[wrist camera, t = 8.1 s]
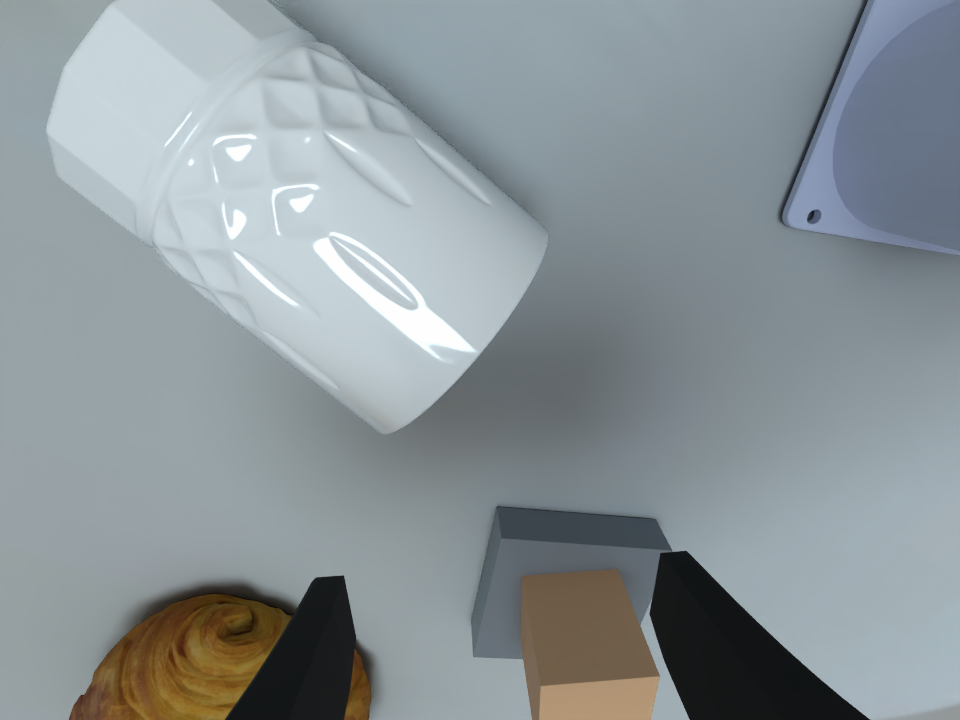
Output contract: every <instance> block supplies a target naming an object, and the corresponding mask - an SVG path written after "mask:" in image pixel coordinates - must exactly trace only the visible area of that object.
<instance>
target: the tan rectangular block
mask: <svg viewBox="0 0 960 720" xmlns="http://www.w3.org/2000/svg"><path fill="white" fill-rule="evenodd" d="M520 641H521V648H522V654H523V661H524V668H525V674H526V681H527V688H528V694H529V701H530V708H531V715H532V720H651V716H652V711H653V707H654V702H655V697H656V692H657V687H658V683H659V678H660V675H659V673H658V670H657V668H656V665H655V663H654V660H653V657H652V655H651V652H650V650H649V647H648V645H647V642H646V640H645V637H644V634H643V632H642V629H641V627H640V624H639V622H638V619H637V616H636V614H635V611H634V609H633V606H632V604H631V601H630V598H629V596H628V593H627V591H626V588H625V586H624V583H623V581H622V578H621V575H620V573H619V570H618V569H610V570H596V571H582V572H568V573H555V574H541V575H527V576H522V582H521V638H520Z"/></svg>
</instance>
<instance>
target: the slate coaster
mask: <svg viewBox="0 0 960 720" xmlns="http://www.w3.org/2000/svg"><path fill="white" fill-rule="evenodd" d="M665 552H672V549H671V547H670V545H669V543H668V542H667V540H666V538H665V536H664V534H663V532H662V530H661V528H660V527H659V525H658V523H657V521H656V519H644V518H632V517H619V516H607V515H594V514H581V513H569V512H556V511H544V510H531V509H519V508H506V507H497V509H496V513H495V518H494V522H493V526H492V531H491V535H490V540H489V544H488V549H487V553H486V558H485V562H484V567H483V571H482V576H481V580H480V584H479V589H478V593H477V598H476V602H475V607H474V611H473V616H472V620H471V626H472V644H473V657H484V658H508V659H523V654H522V648H521V641H520V638H521V582H522V576H527V575H541V574H555V573H568V572H582V571H596V570H610V569H618V570H619V573H620V575H621V578H622V581H623V583H624V586H625V588H626V591H627V593H628V596H629V598H630V601H631V604H632V606H633V609H634V611H635V614H636V616H637V619H638V622H639V624H641V622H642V620H643V617H644V615H645V613H646V610H647V608H648V606H649V604H650V601H651V599H652V597H653V592H654V586H655V581H656V575H657V569H658V564H659V558H660V553H665Z"/></svg>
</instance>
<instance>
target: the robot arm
mask: <svg viewBox="0 0 960 720" xmlns="http://www.w3.org/2000/svg"><path fill="white" fill-rule="evenodd" d="M813 210H814V216H813V218H812V219H811V220H810V221H807V216H808V214H809V213H810V212H811V211H813ZM782 219H783V222H784V223H785V225H787V226H789V227H792V228H795V229H801V230H807V231H813V232H819V233H826V234H832V235H838V236H844V237H850V238H856V239H862V240H868V241H874V242H880V243H886V244H892V245H898V246H904V247H910V248H916V249H923V250H929V251H935V252H941V253H947V254H953V255H959V256H960V0H868V2H867V4H866V7H865V9H864V12H863V14H862V17H861V19H860V22H859V24H858V27H857V29H856V32H855V34H854V37H853V39H852V42H851V44H850V47H849V49H848V52H847V54H846V57H845V59H844V62H843V64H842V67H841V69H840V72H839V74H838V76H837V79H836V81H835V84H834V86H833V89H832V91H831V94H830V96H829V99H828V101H827V104H826V106H825V109H824V111H823V114H822V116H821V119H820V121H819V124H818V126H817V129H816V131H815V134H814V136H813V139H812V141H811V144H810V146H809V148H808V151H807V153H806V156H805V158H804V161H803V163H802V166H801V168H800V171H799V173H798V176H797V178H796V181H795V183H794V186H793V188H792V191H791V193H790V196H789V198H788V201H787V203H786V206H785V208H784V211H783V215H782ZM650 617H651V620H652V623H653V627H654V630H655V633H656V637H657V640H658V643H659V646H660V649H661V652H662V655H663V658H664V661H665V664H666V666H667V668H668V671H669V673H670V675H671V678H672V680H673V682H674V685H675V687H676V689H677V692H678V694H679V696H680V699H681V701H682V703H683V705H684V708H685V710H686V712H687V714H688V717H689V719H690V720H870V719H868V718H867V717H866V716H865V715H863V714H862V713H861V712H860V711H858V710H857V709H856V708H854V707H853V706H852V705H851V704H849V703H848V702H847V701H846V700H844V699H843V698H842V697H841V696H839V695H838V694H837V693H836V692H835V691H833V690H832V689H831V688H830V687H829V686H828V685H826V684H825V683H824V682H823V681H822V680H820V679H819V678H818V677H817V676H816V675H815V674H814V673H812V672H811V671H810V670H809V669H808V668H807V667H806V666H805V665H803V664H802V663H801V662H800V661H799V660H798V659H797V658H795V657H794V656H793V655H792V654H791V653H790V652H789V651H788V650H787V649H786V648H784V647H783V646H782V645H781V644H780V643H779V642H778V641H777V640H776V639H775V638H774V637H773V636H772V635H771V634H770V633H768V632H767V631H766V630H765V629H764V628H763V627H762V626H761V625H760V624H759V623H758V622H757V621H756V620H755V619H754V618H753V617H752V616H751V615H750V614H749V613H748V612H747V611H746V610H745V609H744V608H742V607H741V606H740V605H739V604H738V603H737V602H736V601H735V600H734V599H733V598H732V597H731V596H730V595H729V594H728V593H727V592H726V591H725V589H724V588H723V587H722V586H721V585H720V584H719V583H718V582H717V581H716V580H715V579H714V578H713V577H712V576H711V575H710V574H709V573H708V572H707V571H706V570H705V569H704V568H703V567H702V566H701V565H700V564H699V563H698V562H697V561H696V560H695V559H694V558H693V557H692V556H691V555H690V554H689V553H688V552H687V551H679V552H665V553H660V558H659V564H658V569H657V575H656V581H655V586H654V592H653V598H652V603H651V609H650ZM355 642H356V634H355V629H354V624H353V619H352V614H351V609H350V604H349V599H348V594H347V589H346V584H345V579H344V576H331V577H317V578H315V579H314V580H313V581H312V583H311V584H310V586H309V588H308V590H307V592H306V594H305V595H304V597H303V599H302V601H301V602H300V604H299V606H298V608H297V609H296V611H295V613H294V615H293V616H292V618H291V620H290V621H289V623H288V625H287V626H286V628H285V630H284V631H283V633H282V635H281V636H280V638H279V640H278V641H277V643H276V644H275V646H274V647H273V649H272V650H271V652H270V654H269V655H268V657H267V658H266V660H265V661H264V663H263V664H262V666H261V668H260V669H259V671H258V672H257V674H256V675H255V677H254V678H253V680H252V681H251V683H250V684H249V686H248V687H247V688H246V690H245V691H244V693H243V694H242V696H241V697H240V698H239V700H238V701H237V703H236V704H235V706H234V707H233V708H232V710H231V711H230V713H229V714H228V715H227V717H226V718H225V720H344V717H345V712H346V707H347V703H348V698H349V693H350V688H351V679H352V671H353V661H354V652H355Z"/></svg>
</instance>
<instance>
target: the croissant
mask: <svg viewBox="0 0 960 720" xmlns="http://www.w3.org/2000/svg"><path fill="white" fill-rule="evenodd" d="M291 618H292V616H291V615H286V614H285V613H284V612H283V611H282V610H281V609H278V608H273V607H268V606H267V605H265V604H263V603H261V602H258V601H251V600H245V599H242V598H238V597H235V596H231V595H227V594H208V595H203V596H197V597H193V598H190V599H186V600H183V601H180V602H176V603H173V604H171V605H169V606H168V607H167V608H165V609H164V610H162V611H160V612H158V613H156V614H154V615H152V616H150V617H149V618H147V619H146V620H145V621H144V622H142V623H141V624H139V625H137V626H135V627H134V628H133V629H132V630H131V631H130V632H129V633H128V634H127V635H126V636H124V637H123V638H122V639H121V640H120V641H119V642H118V643H117V645H116V646H115V647H114V648H113V649H112V650H111V651H110V652H109V653H108V654H107V655H106V657H105V658H104V660H103V661H102V662H101V664H100V665H99V667H98V668H97V669H96V670H95V672H94V675H93V681H92V683H91V684H90V686H89V688H88V689H87V691H86V693H85V695H81V696H80V697H79V699H78V700H77V702H76V703H75V704H74V706H73V709H72V712H71V714H70V717H69V720H225V718H226V717H227V715H228V714H229V713H230V711H231V710H232V708H233V707H234V706H235V704H236V703H237V701H238V700H239V698H240V697H241V696H242V694H243V693H244V691H245V690H246V688H247V687H248V686H249V684H250V683H251V681H252V680H253V678H254V677H255V675H256V674H257V672H258V671H259V669H260V668H261V666H262V664H263V663H264V661H265V660H266V658H267V657H268V655H269V654H270V652H271V650H272V649H273V647H274V646H275V644H276V643H277V641H278V640H279V638H280V636H281V635H282V633H283V631H284V630H285V628H286V626H287V625H288V623H289V621H290V620H291ZM370 701H371V688H370V682H369V679H368V677H367V675H366V672H365V670H364V667H363V663H362V660H361V656H360V655H359V654H358V652H357V651H356V649H355V652H354V661H353V671H352V679H351V688H350V693H349V698H348V703H347V707H346V712H345V717H344V720H368V719H369V707H370Z"/></svg>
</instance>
